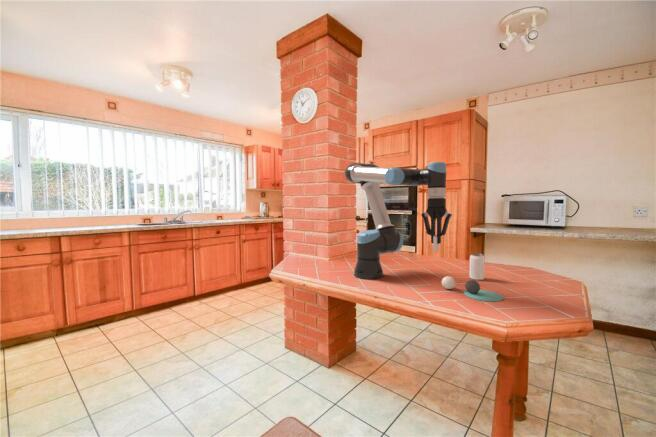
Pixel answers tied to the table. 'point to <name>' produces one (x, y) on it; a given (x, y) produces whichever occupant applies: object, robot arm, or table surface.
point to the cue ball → (448, 282)
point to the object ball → (472, 286)
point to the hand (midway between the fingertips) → (435, 250)
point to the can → (477, 266)
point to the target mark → (485, 296)
